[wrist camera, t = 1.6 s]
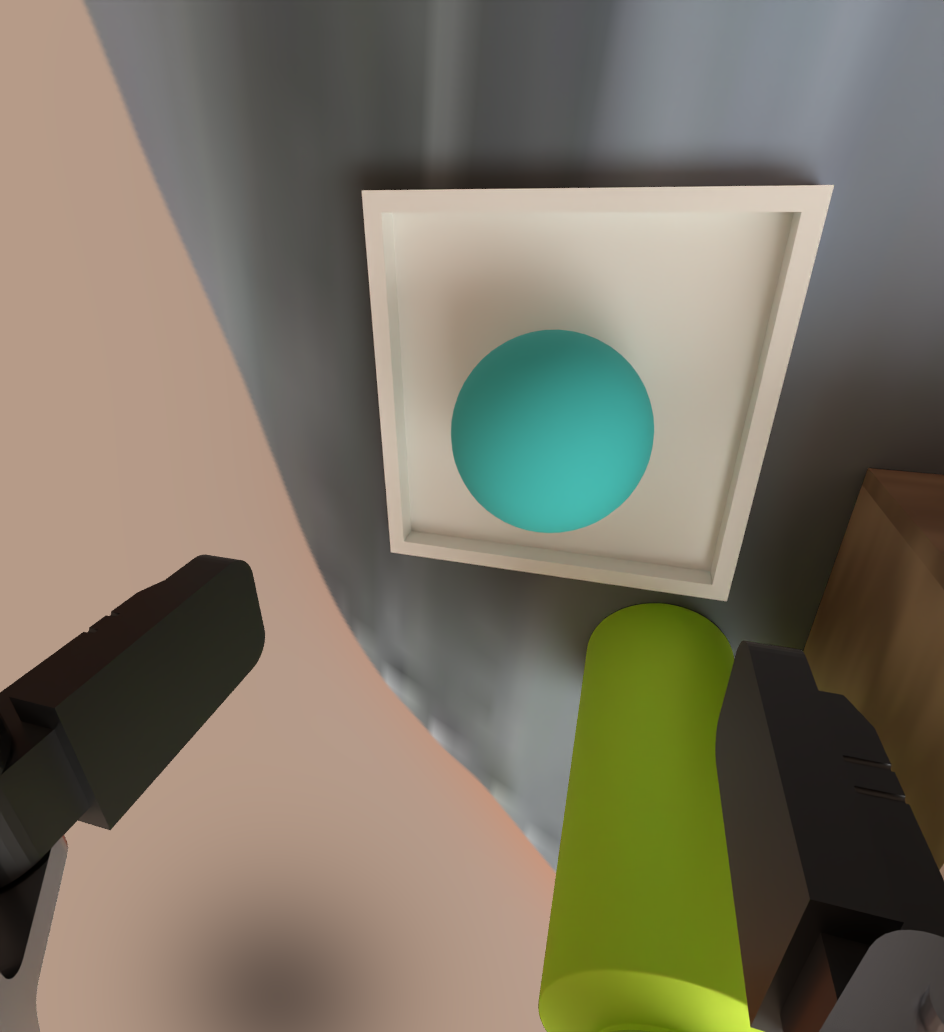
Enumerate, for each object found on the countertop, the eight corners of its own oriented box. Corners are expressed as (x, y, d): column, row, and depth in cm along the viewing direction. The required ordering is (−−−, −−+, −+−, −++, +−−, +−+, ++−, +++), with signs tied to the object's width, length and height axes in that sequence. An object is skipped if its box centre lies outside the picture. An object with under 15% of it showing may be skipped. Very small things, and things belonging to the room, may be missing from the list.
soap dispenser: (663, 744, 26) (694, 1744, 9) (558, 646, 25) (372, 1564, 8) (782, 691, 23) (1156, 2027, 6) (668, 577, 22) (738, 1799, 5)
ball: (479, 310, 19) (417, 347, 14) (666, 318, 18) (674, 361, 13) (478, 475, 22) (427, 555, 17) (640, 492, 21) (637, 586, 15)
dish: (377, 191, 18) (361, 190, 17) (821, 186, 15) (834, 185, 14) (401, 538, 25) (390, 552, 24) (723, 582, 22) (726, 601, 21)
